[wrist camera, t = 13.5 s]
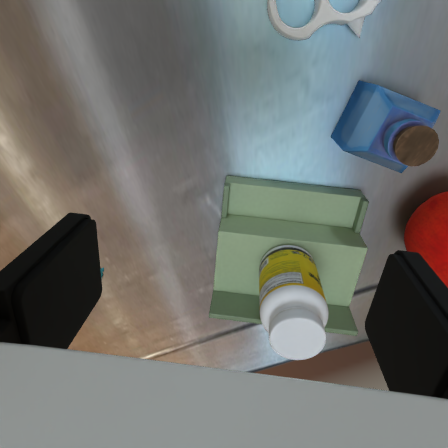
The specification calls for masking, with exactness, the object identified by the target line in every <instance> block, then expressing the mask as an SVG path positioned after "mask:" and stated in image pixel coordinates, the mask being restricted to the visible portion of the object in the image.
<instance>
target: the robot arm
mask: <svg viewBox="0 0 448 448" xmlns="http://www.w3.org/2000/svg"><path fill="white" fill-rule="evenodd" d="M101 293H102V282H101V271H100V260H99V250H98V239H97V229H96V222H95V220H91V218H90V216H89V215H86V214H78V213H69V214H67V215H66V216H65V217H64V218H62V219H61V220H60V221H59V222H58V223H57V224H55V225H54V226H53V227H52V228H51V229H49V230H48V231H47V232H46V233H45V234H44V235H42V236H41V237H40V238H39V239H38V240H37V241H35V242H34V243H33V244H32V245H31V246H29V247H28V248H27V249H26V250H25V251H24V252H22V253H21V254H20V255H19V256H18V257H16V258H15V259H14V260H13V261H12V262H11V263H9V264H8V265H7V266H6V267H5V268H3V269H2V270H1V271H0V448H448V288H447V287H446V285H445V284H444V283H443V282H442V280H441V279H440V278H439V277H438V276H437V274H436V273H435V272H434V271H433V269H432V268H431V267H430V266H429V265H428V263H427V262H426V261H425V260H424V259H423V257H422V256H421V255H420V254H419V253H417V252H409V251H400V250H398V251H396V252H395V253H394V254H391V255H389V257H388V259H387V261H386V264H385V267H384V270H383V273H382V275H381V278H380V281H379V284H378V287H377V290H376V292H375V295H374V298H373V301H372V304H371V306H370V309H369V312H368V315H367V318H366V321H365V330H366V333H367V336H368V338H369V341H370V343H371V345H372V348H373V350H374V353H375V356H376V358H377V361H378V363H379V366H380V368H381V371H382V373H383V376H384V378H385V381H386V383H387V386H388V388H389V391H385V390H378V389H370V388H362V387H355V386H348V385H341V384H333V383H326V382H317V381H310V380H303V379H295V378H287V377H279V376H272V375H264V374H256V373H249V372H241V371H233V370H226V369H218V368H210V367H202V366H195V365H187V364H179V363H172V362H164V361H156V360H149V359H141V358H133V357H125V356H117V355H109V354H101V353H93V352H85V351H77V350H69V349H67V348H68V347H69V345H70V344H71V342H72V341H73V339H74V337H75V336H76V334H77V333H78V331H79V330H80V328H81V327H82V325H83V323H84V322H85V320H86V319H87V317H88V316H89V314H90V313H91V311H92V309H93V308H94V306H95V305H96V303H97V302H98V300H99V298H100V296H101Z"/></svg>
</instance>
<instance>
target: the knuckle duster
mask: <svg viewBox="0 0 448 448" xmlns="http://www.w3.org/2000/svg"><path fill="white" fill-rule="evenodd" d="M380 1H381V0H360V1H359V3H358V5H357V6H356V7H355V9H354V10H353V11H351V12H350V13H341V12H338V11H336V10H335V9H334V8H333V7H332V6H331V5H330V3H329V0H314V2H315V8H314V13H313V16H312V18H311V19H310V21H309V22H308V23H307V24H306V25H305V26H303V27H300V28H293V27H289V26H287V25H286V24H285V23H284V22H283V21H282V20H281V18H280V17H279V14H278V10H277V5H276V1H275V0H267V10H268V16H269V19H270V22H271V24H272V25H273V27H274V29H275V30H276V31H277V32H278V33H279V34H280V35H282V36H283V37H285V38H287V39H290V40H305V39H308V38H310V37H311V35H312V34H313V33H314V32H315V31H316V30H317V29H319V28H320V27H322V26H323V25H327V24H338V25H344V24H348V25H349V27H350V28H351V29H352V30H353V31H354V32H355V34H356V35H357V36H358V37H359V38H360V34H361V30H362V26H363V23H364V19H365V16H368V15H370V14H372V12H373V10H374V9H375V7H376V6H377V5H378V3H379V2H380Z"/></svg>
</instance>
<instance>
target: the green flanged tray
mask: <svg viewBox="0 0 448 448" xmlns="http://www.w3.org/2000/svg"><path fill="white" fill-rule="evenodd" d="M368 203H369V201H368V200H367V199H366V197H365V196H364V195H363V194H362V192H361V191H360V190H355V189H346V188H337V187H328V186H318V185H309V184H300V183H291V182H282V181H272V180H263V179H254V178H245V177H236V176H227V177H226V181H225V185H224V194H223V205H222V216H221V222H220V227H219V231H218V243H217V254H216V265H215V277H214V288H213V295H212V301H211V306H210V312H209V318H217V319H225V320H233V321H242V322H250V323H258V324H262V322H261V319H260V305H259V267H260V263H261V260H262V258H263V257H264V255H265V254H266V253H267V252H268V251H270V250H271V249H273V248H275V247H278V246H282V245H294V246H298V247H301V248H303V249H304V250H306V251H307V252H308V253H309V254H310V255H311V256H312V258H313V259H314V262H315V264H316V268H317V271H318V275H319V278H320V282H321V285H322V289H323V292H324V296H325V299H326V302H327V306H328V313H329V314H328V321H327V324H326V326H325V327H324V329H325V332H330V333H338V334H346V335H354V336H357V334H358V330H357V328H356V325H355V322H354V319H353V317H352V314H351V311H350V309H349V306H350V302H351V299H352V296H353V293H354V290H355V287H356V284H357V280H358V277H359V274H360V271H361V268H362V265H363V262H364V259H365V255H366V252H367V249H368V248H367V246H366V244H365V243H364V241H363V239H362V237H361V236H360V234H359V233H360V230H361V227H362V223H363V220H364V217H365V213H366V210H367V207H368Z"/></svg>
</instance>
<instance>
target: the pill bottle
mask: <svg viewBox="0 0 448 448" xmlns="http://www.w3.org/2000/svg"><path fill="white" fill-rule="evenodd" d="M259 305H260V319H261V322H262V324H263V326H264V328H265V329H266V331H267V332H268V333H269V341H270V345H271V347H272V348H273V350H274V351H275V352H276V353H277V354H279V355H280V356H282V357H285V358H287V359H292V360H304V359H308V358H311V357H313V356H315V355H317V354H318V353H319V352H320V351H321V350H322V349H323V347H324V345H325V343H326V333H325V329H324V327H325V326H326V324H327V321H328V314H329V313H328V306H327V302H326V299H325V296H324V292H323V289H322V285H321V282H320V278H319V275H318V271H317V268H316V264H315V262H314V259H313V258H312V256H311V255H310V254H309V253H308V252H307V251H306V250H304V249H303V248H301V247H298V246H294V245H282V246H278V247H275V248H273V249H271V250H270V251H268V252H267V253H266V254H265V255H264V257H263V258H262V260H261V263H260V267H259Z"/></svg>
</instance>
